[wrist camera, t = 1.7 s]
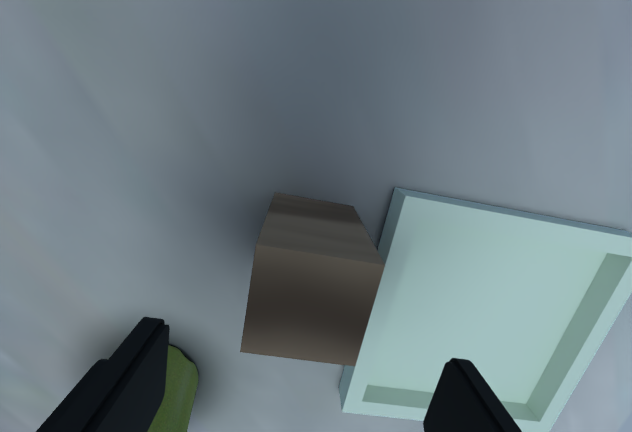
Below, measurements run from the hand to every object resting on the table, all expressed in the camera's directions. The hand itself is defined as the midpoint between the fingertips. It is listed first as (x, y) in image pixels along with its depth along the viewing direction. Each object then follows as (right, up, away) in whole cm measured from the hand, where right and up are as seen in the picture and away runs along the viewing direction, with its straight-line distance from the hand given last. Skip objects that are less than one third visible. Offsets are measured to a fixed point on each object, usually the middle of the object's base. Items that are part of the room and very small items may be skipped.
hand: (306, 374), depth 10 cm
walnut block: (0, +4, +10) cm, 11 cm away
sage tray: (+12, -2, +12) cm, 17 cm away
